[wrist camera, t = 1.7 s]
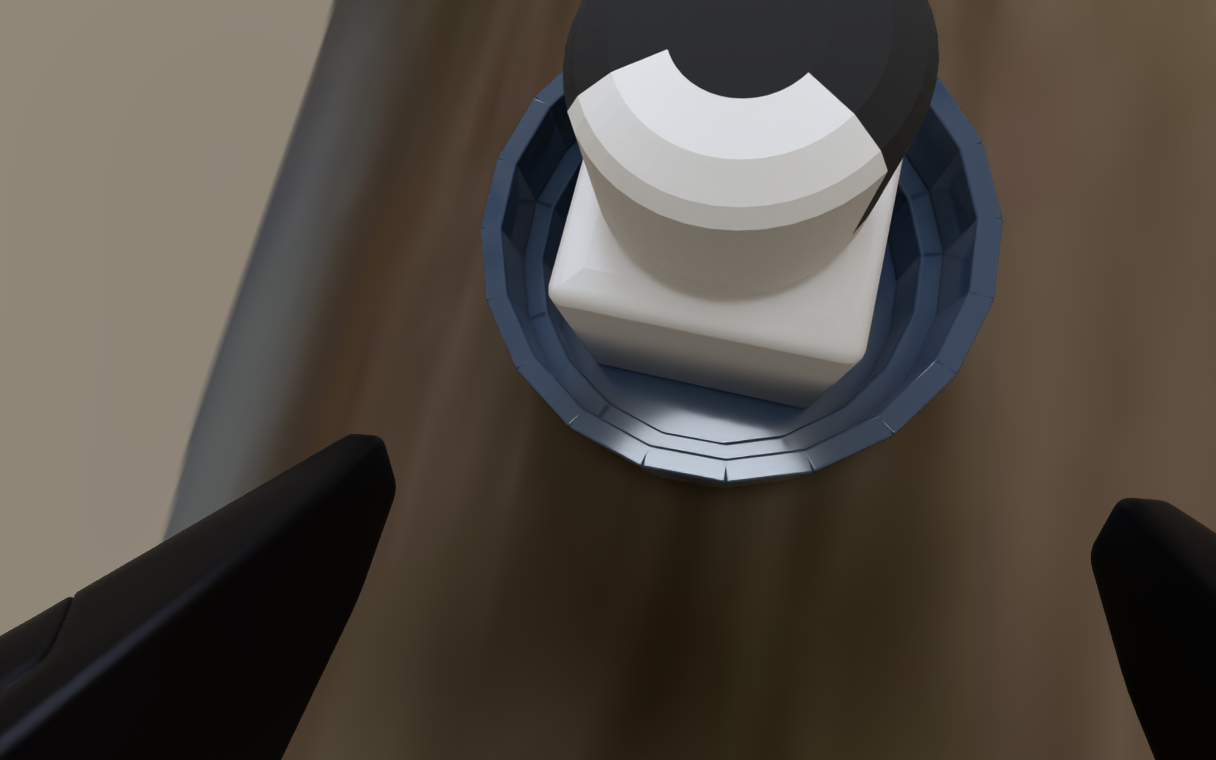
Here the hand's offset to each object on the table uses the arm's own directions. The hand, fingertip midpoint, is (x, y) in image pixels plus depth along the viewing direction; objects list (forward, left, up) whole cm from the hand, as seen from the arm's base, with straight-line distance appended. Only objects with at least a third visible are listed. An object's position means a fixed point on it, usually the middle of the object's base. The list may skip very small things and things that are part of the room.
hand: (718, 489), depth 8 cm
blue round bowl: (+7, +1, -13) cm, 15 cm away
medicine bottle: (+7, +1, -13) cm, 15 cm away
